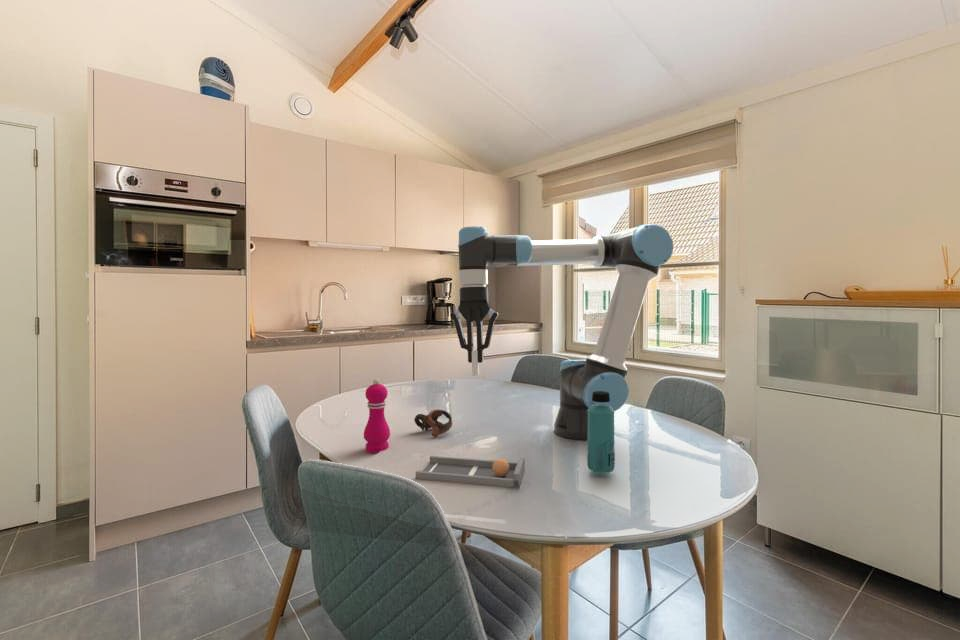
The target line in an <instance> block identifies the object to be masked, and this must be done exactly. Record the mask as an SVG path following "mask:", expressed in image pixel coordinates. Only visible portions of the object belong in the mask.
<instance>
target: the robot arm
mask: <svg viewBox="0 0 960 640" xmlns="http://www.w3.org/2000/svg"><path fill="white" fill-rule="evenodd" d="M457 246H458V247H457V248H458V266H459V267H458V268H459V272H458V273H459V274H458V276H459V283H458V284H459V286H461V287H460V288H459V306H458V309H457V310H455V311H454V312H451V313H450V318H451V319H452V321H453V322H454V326H455V330H456V333H457V337H458V341H459V346H460V348H461V349H464V350H466V351H467V361H468V363H469V364H470V363H471V374H472V376H473V377H475V376H476V377H478V376H479V375H480V364H481V363H483V361H484V350H485V349H488V348H489V347H490V345H491V341H492V335H493V331H494V326H495V322H496V320H497V318H498V316H499V315H500V314H499V312H498V311H495V310H493V309H491V305H490V303H489V288H488V284H489V280H488V279H489V277H488V275H489V274H488V273H489V271H488V269H489V268H488V266H489V267H492V268H502V267H504V268H505V267H530V266H561V265H562V266H564V265H565V266H566V265H567V266H569V265H592V266H593V267H595V268H611V269H612V268H613V269H615V270H616V272H617V278H616V282H615V283H614V284H615V285H614V288H613V292H612V295H611V296H610V301H609V305H608V307H607V310H606V313H605V317H604V320H603V324H602V326H601V329H600V333H599V336H598V340H597V342H596V345H595V348H594V352H593V354H591V355H589V356H587V357H586V359H566V360H562V361H561V362H560V366H559V367H560V369H559V409H558V412H557V416H556V418H555V421H554V424H553V426H554V427H553V432H554V433H555V434H556V435H558V436H560V437H562V438H563V437H564V438H567V439H572V440H587V436H588V409H589V408H590V407H591V406H592V405H595V404H603V405H608V406H610V407H611V408H612V409H613V410H614V412H616V411H618V410H620V409H621V408H622V407H623V406H624V405H625V403H626V402H627V400H628V397H629V392H630V387H629V385H628V382H627V380H626V378H627V377H626V376H627V374H628V368H627V366H626V364H625V361H626V358H627V355H628V351H629V349H630V345H631V341H632V339H633V336H634V332H635V328H636V325H637V322H638V320H639V319H638V318H639V316H640V313H641V309H642V306H643V303H644V300H645V297H646V292H647V291H648V288H649V287H648V286H649V283H650V282H651V281H653V280H654V279H657V278H658V274H659V271H660V268H661V266H662V265H664V264H666V263H667V262H668V261H669V260H670V259H671V257H672V255H673V252H674V241H673V239H672V237H671V235H670V233H669V231H668V230H667V229H666V228H665V227H663V226H662V225H660V224H656V223H649V224H648V223H647V224H640V225H638V226H636V227H632V228H629V229H624V230H621V231H618V232H616V233H611V234H606V235H595V236H594V237H593V238H592V239H591V238H590V239H585V238H584V239H548V240H547V239H544V240H543V239H542V240H541V239H540V240H536V239H534V240H532V239H531V238H530V236H528V235H522V234H521V235H520V234H514V235H513V234H512V235H511V234H510V235H509V234H507V235H506V234H504V235H503V234H502V235H501V234H500V235H496V234H495V235H494V234H489V233H488V231H487V228H486V227H484V226H478V225H477V226H476V225H474V226H470V225H469V226H464V227H462V228H460V230H459V231H458V245H457ZM487 315H488V318H489V320H488V324H487V330H486V334H485V339H483V338H484V337H483V336H484V334H483V333H484V331H483V330H484V329H483V323H484V322H483V321H484V319H485V318H486V316H487ZM461 316H462V317H463V318H464V319H465V321H466V337H465V332H464V329H463V325H462V321H461V319H460V318H461ZM474 322H475V325H476V349H475V347H474ZM594 391H605V392H608V393H609V396H610V402H595V401H592V394H593V392H594Z"/></svg>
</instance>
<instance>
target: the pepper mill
mask: <svg viewBox="0 0 960 640" xmlns="http://www.w3.org/2000/svg"><path fill="white" fill-rule="evenodd" d="M380 381H381V380H380V379H379V378H374V379H373V381H372V382H373V384H370V385H369V386H368V387H366V390H365V394H364V395H365V399H367V401H368V402H367V408H368V410H369V414H368V421H367V422H366V425H365V427H364V430H363V431H364V432H363V439H364V440H365V441H366V444H365V452H367V453H369V454H379V453H380V452H383V451H386V450H388V449H389V441H388V440H389V438H390V436H391V430H390V426H389V424H388V423H387V420H386V418H385V407H386V406H387V404H386V399H387V397H388V389H387V387H386V386H385V385H383V384H380Z"/></svg>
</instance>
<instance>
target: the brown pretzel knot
mask: <svg viewBox="0 0 960 640" xmlns="http://www.w3.org/2000/svg"><path fill="white" fill-rule="evenodd" d="M442 416H445V418H446V419H448V422H446V423H443V422H441V421H438V419H439V418H440V417H442ZM452 418H453V417H452V415H451V414H450V413H449V412H448V411H446V410H444V409H433V410H431V411H430V412H429V413H428V414H423V413H418V414H416V415H415V417H414V419H413V420H414V423H415V425H416V426H417V427H418V428H420V429H421V431H422V432H424V431H426V432H427V430H429V429H431V428H432V433H431V436H432V437H433V438H438V437H439V435H442V434H444V433H446V432H447V433H448V431H450V429H452V426H453V419H452Z"/></svg>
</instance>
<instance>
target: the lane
mask: <svg viewBox="0 0 960 640" xmlns="http://www.w3.org/2000/svg"><path fill="white" fill-rule="evenodd" d="M495 461H496V460H492V459H491V460H490V459H479V458H468V457H467V458H465V457H451V456H439V455H430V456H429V462H428V464H427V465H426V466H425V467H424V468H423V470H416V471H415V479H417V480H424V481H425V480H428V481H440V482H449V483H461V484H473V485H484V486H495V487H504V488H505V487H506V488H516V489H517V488H518V491H520V488H521V484H522V481H523V478H524V475H525V470H526V467H525V465H526V463H525V462H526V461H525V456H519V457H518V460H517V461H507V462H508V464H509V472H508V474H507V475H505V476H503V477H499V476H497V475H495V474H494V472H493V470H492V466H493V463H494V462H495Z"/></svg>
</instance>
